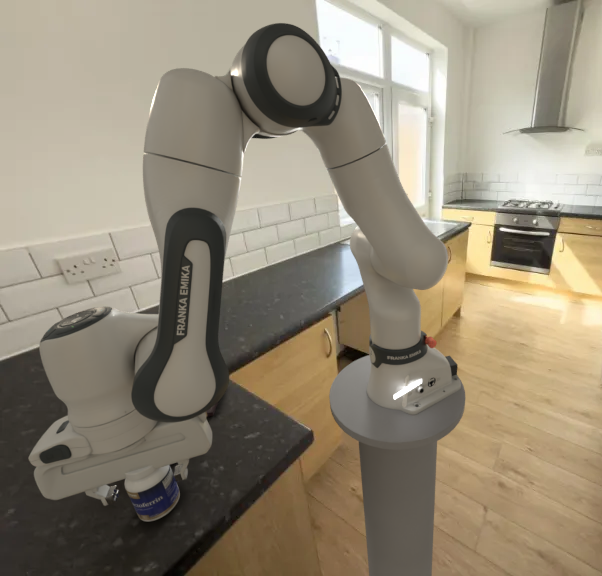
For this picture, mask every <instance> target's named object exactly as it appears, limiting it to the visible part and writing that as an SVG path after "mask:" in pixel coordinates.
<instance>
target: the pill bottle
mask: <svg viewBox="0 0 602 576" xmlns="http://www.w3.org/2000/svg"><path fill="white" fill-rule="evenodd" d="M125 475H126V479H124V489H125V491H126V493H127V495H128V497H129V499H130V502H131V504H132V506H133V508H134V510H135V512H136V515H137V516H138V518H139V519H140V520H141V521H143V522H154V521H157V520H160V519H161V518H163V517H165V516H167V515H168V514H169V513H170V512H171V511H172V510H173V509H174V508H175V507H176V505H178V502H179V500H180V496H181V493H180V488H179V486H178V485H179V484H178V482H176V481H175V479H174V476H173V475H174V472H173V469H172V467H171V464H170V465H167V466H164V467H161V468H158V469H155V468H154V467H153V466H152V465H151V466H147V467H144V468H141V469H137V470H134V471H131V472H127V473H125Z"/></svg>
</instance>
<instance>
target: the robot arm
mask: <svg viewBox="0 0 602 576" xmlns="http://www.w3.org/2000/svg"><path fill="white" fill-rule="evenodd" d="M298 131H299V132H301V133H302V134H305V136H307V138H308V139H310V141H311V142H312V143H313V145H314V146H315V148H316V149H317V150H318V151H317V152H318V153H319V157H320V159H321V161H322V164H323V165H324V168H325V170H326V172H327V174H328V176H329V179H330V182H331V183H332V185H333V187H334V189H335V192H336V194H337V196H338V199H339V201H340V203H341V205H342V207H343V209H344V211H345V212H346V214H347V215H348V216H349V217H350V218H351V219H352V221H354V223H355V224H356V225H357V226H356V227H355V228H354V229H353V231H352V233H351V235H350V238H349V248H350V252H351V254H352V256H353V257H354V260H355V262H356V264H357V267H358V269H359V274H360V278H361V281H362V284H363V288H364V292H365V296H366V300H367V304H368V312H369V313H368V314H369V328H370V329H369V331H370V333H369V337H368V344H369V345H368V353H369V354H368V355H369V356H370V360H371V370H370V376H369V381H368V384H367V394H368V396H369V398H370V399H371V400H372V401H373V402H374V403H376V404H378V405H379V406H382V407H385V408H388V409H395V410H401V411H403V412H405V413H408V414H411V415H415V414H418V413H419V412H421V411H423V410H425V409H426V408H428V407H430V406H432V405H434V404H435V403H437V402H439V401H441V400H442V399H444V398H446V397H448V396H450V395H451V394H453V393H455V392H457V391H458V390H460V389H461V382H462V381H461V382H460V380H461V378H460V377H459V375H458V364H457V362H456V361H455V360H454V359H453V358H452V356H451V355H444V354H443V352H441V351H440V350H439V349H438V348H436V346H437V344H438V343H437V340H436V339H434V338H433V337H432V336H428V335H427V333H426V332H425V331H423V330H422V306H421V301H420V299H419V297H418V295H417V294H416V292H415V290H418V291H426V290H429V289H432V288H434V287H435V286H436V285H438V284H439V283H440V282H441V281H442V279H443V278H444V276H445V275H446V271H447V270H448V265H449V252H448V249H447V246H446V245H445V243H444V241H442V240H441V239H440V238H439V237H437V236H436V235H435V234H434V233H433V232H432V230H431V229H430V228H429V227H428V225H426V223H425V222H424V220H423V218H422V217H421V216H420V214H419V212H418V211H417V209H416V208H415V206H414V205H413V203H412V201H411V199H410V197H409V196H408V195H407V194H408V193H406V191H405V189H404V186H403V184H402V182H401V180H400V177H399V174H398V171H397V168H396V165H395V163H394V161H393V157H392V155H391V152H390V149H389V146H388V143H387V140H386V137H385V134H384V132H383V130H382V127H381V125H380V121H379V119H378V118H377V116H376V113H375V111H374V109H373V107H372V105H371V102H370V101H369V99H368V97H367V95H366V93H365V92H364V90H363V89H362V87H361V85H360V84H359V83H358V82H357V81H355V80H354V79H351V78H348V77H341V76H340V74H339V72H338V70H337V69H336V67H334V66H333V65H332V64H331V61H330V59H329V57H328V56H327V55H326V53H325V51H324V50H323V48H322V47H321V46H320V44H319V43H318V42H317V41H316V39H314V38H313V37H312V36H311V35H310V34H309V33H308V32H307V31H305V30H304V29H302V28H301V27H299V26H297V25H294V24H292V23H287V22H286V23H285V22H277V23H271V24H268V25H265V26H263V27H261V28H259V29H257V30H255V31H254V32H253V33H252V34H251V35H250V36H249V37H248V39H247V40H246V41H245V44H244V45H243V46H241V48H240V49H239V50H238V52H237V53H236V55H235V56H234V58H233V60H232V62H231V65H230V67H229V69H228V70H227V72H226V73H225V75H224V74H223V75H219V76H218V75H212V74H210V73H209V72H206V71H202V70H199V69H195V68H187V67H180V68H178V67H177V68H173V69H170V70H168V71H166V72H165V73H164V74H162V76H161V77H160V78H159V80H158V82H157V87H156V89H155V91H154V95H153V98H152V102H151V106H150V109H149V114H148V119H147V123H146V128H145V136H144V144H143V153H142V187H143V195H144V202H145V207H146V212H147V216H148V220H149V222H150V225H151V228H152V231H153V234H154V238H155V241H156V245H157V250H158V254H159V259H160V273H161V276H160V290H159V291H160V292H159V303H158V313H137V312H131V311H124V310H121V309H118V308H116V307H112V306H97V307H91V308H88V309H84V310H81V311H78V312H76V313H73V314H70V315H68V316H66V317H64V318H63V319H61V320H59V321H58V322H56V323H54V324H53V325H52V326H51V327H50V328H48V330H46V331H45V332H44V334H43V336H42V337H41V339H40V341H39V344H38V345H39V346H38V349H39V350H38V351H39V355H40V359H41V363H42V366H43V369H44V372H45V374H46V377H47V380H48V381H49V385H50V386H51V388H52V391H53V392H54V395H55V396H56V398H58V399H59V400H60V401H61V402H63V403H64V405H65V407H66V408H67V414H66V415H65V416H63V417H61V418H59V419H57V420H55V421H54V422H53V423H52V424H51V425H50V426H49V427H48V428H47V430H46V431H45V432H44V433H43V434H42V435H41V437H40V438H39V440H38V441H37V442H36V444H35V445H34V447H33V448H32V450H31V452H30V454H29V456H28V461H29V463H30V465H32V466H34V467H35V468H34V469H33V470H34V471H33V477H34V481H35V483H36V485H37V488H38V489H39V492H40V493H41V495H42V497H44V498H45V499H48V500H52V501H58V500H62V499H65V498H68V497H71V496H75V495H78V494H81V493H84V494H85V495H86V496H88V497H90V498H94V499H97V500H100V501H101V503H102V505H103V506H104V507H106V506H109V505H113V504H115V503H118V501H119V498H120V495H121V492H120V489H119V486H118V485H116V484H115V485H112V486H109V485H110V484H113V483H116V482H119V481H122V480H125V479H126V475H125V473H127V472H131V471H134V470H137V469H141V468H144V467H147V466H151V465H152V466H153V467H154V468H155V469H158V468H161V467H164V466H167V465H170V466H171V465H173V464H176V463H177V465H175V466H174V472H173V476H174V479H175V481H176V482H177V483H178V482H180V481H184V480H187V479H188V474H189V469H188V465H189V464H190V459H192V458H195V457H199V456H202V455H205V454H207V453H208V452H209V450H210V449H211V448H212V444H213V430H212V427H211V425H210V424H209V422H208V417H207V412H206V411H207V410H209V409H210V408H211V407H213V406H214V405H215V404H216V403H217V402H218V401H220V400H221V399H222V398H223V396H224V395H225V394H226V392H227V389H228V387H229V384H230V372H229V368H228V365H227V362H226V361H225V359H224V357H223V354H222V351H221V348H220V344H219V329H220V317H221V307H222V294H223V293H222V292H223V284H224V283H223V281H224V271H225V269H224V268H225V261H226V255H227V251H228V245H229V242H230V236H231V232H232V228H233V223H234V219H235V216H236V211H237V207H238V201H239V197H240V191H241V185H242V176H243V168H244V156H245V153H246V150H247V147H248V145H249V142H250V141H251V139H259V140H271V139H275V138H279V137H285V136H289V135H292V134H295V133H296V132H298ZM459 378H460V379H459ZM218 403H219V402H218Z"/></svg>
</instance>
